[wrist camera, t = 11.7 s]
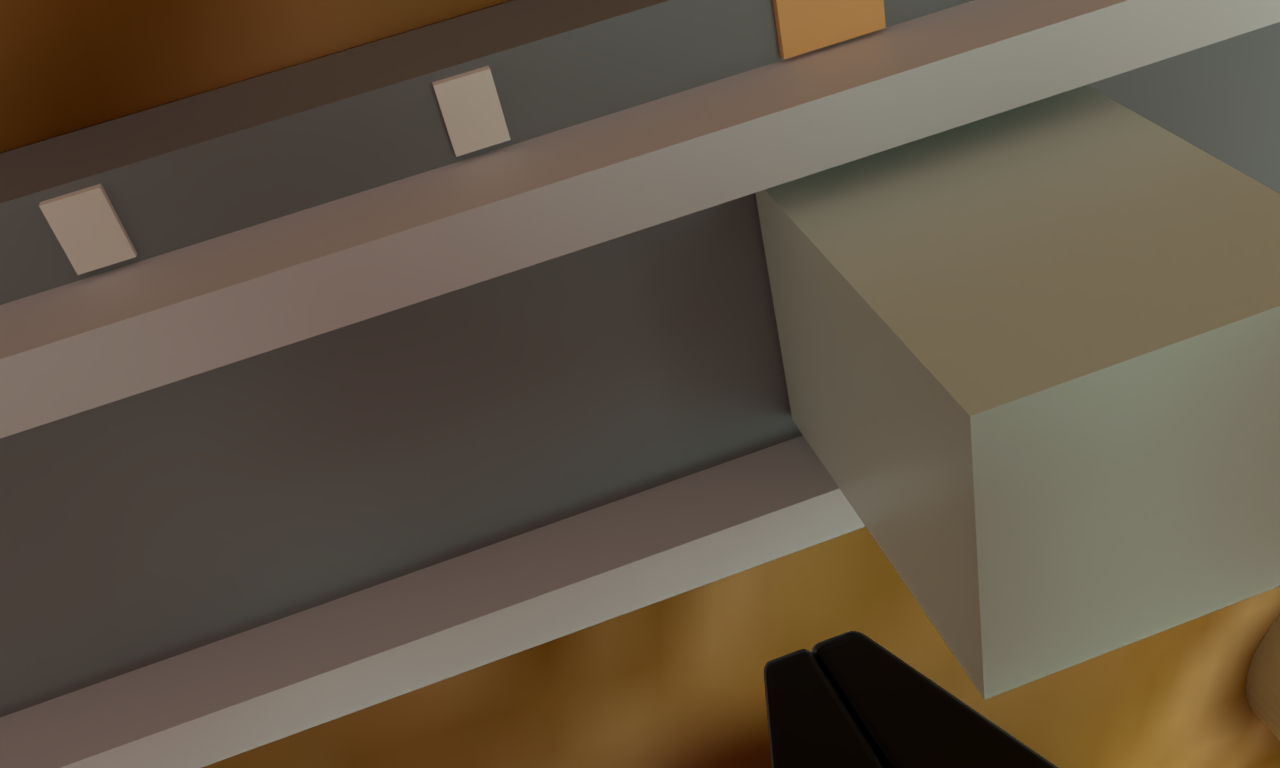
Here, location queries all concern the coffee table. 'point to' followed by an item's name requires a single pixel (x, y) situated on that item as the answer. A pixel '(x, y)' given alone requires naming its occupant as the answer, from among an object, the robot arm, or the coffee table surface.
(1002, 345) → the tally marker
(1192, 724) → the coffee table surface
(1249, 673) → the white rounded cylinder
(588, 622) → the rail
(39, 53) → the coffee table surface
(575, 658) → the coffee table surface
